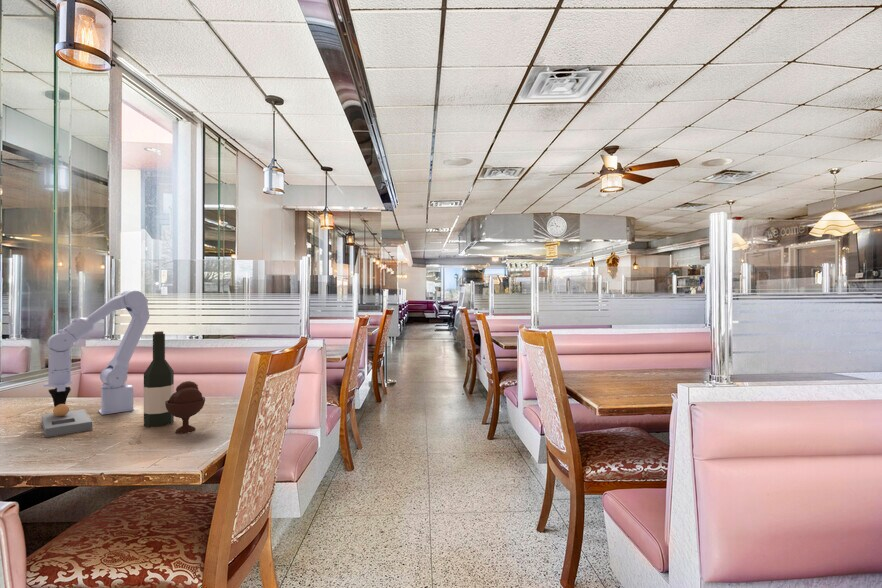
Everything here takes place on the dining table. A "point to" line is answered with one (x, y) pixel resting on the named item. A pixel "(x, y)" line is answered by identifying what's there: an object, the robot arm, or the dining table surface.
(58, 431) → the board
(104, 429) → the dining table surface
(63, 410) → the ball
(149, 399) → the wine bottle
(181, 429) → the ice cream bowl
